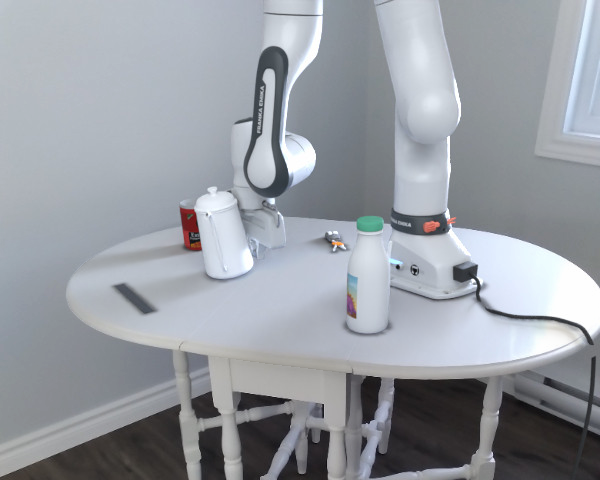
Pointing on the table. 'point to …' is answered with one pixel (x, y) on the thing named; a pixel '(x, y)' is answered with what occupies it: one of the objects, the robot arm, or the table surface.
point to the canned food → (190, 224)
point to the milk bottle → (368, 279)
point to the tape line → (134, 298)
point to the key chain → (334, 239)
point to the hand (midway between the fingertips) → (258, 257)
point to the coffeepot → (222, 235)
